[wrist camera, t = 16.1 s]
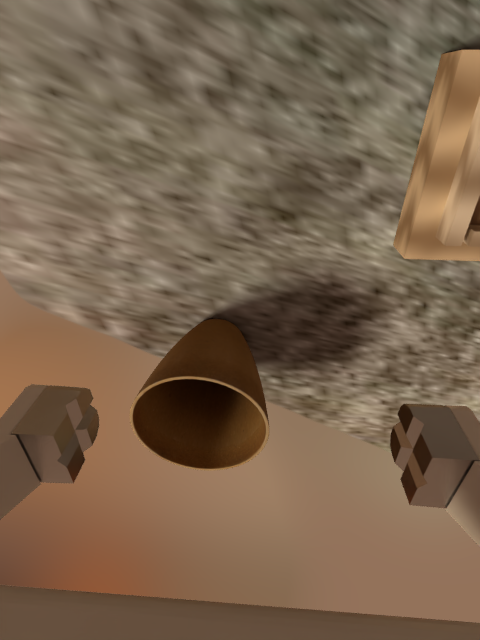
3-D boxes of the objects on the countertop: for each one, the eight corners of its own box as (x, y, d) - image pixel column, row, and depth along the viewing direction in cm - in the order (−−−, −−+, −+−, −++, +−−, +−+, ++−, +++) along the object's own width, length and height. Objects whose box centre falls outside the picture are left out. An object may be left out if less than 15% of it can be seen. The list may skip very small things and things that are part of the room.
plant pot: (177, 280, 46) (141, 359, 33) (284, 314, 48) (291, 401, 34) (156, 363, 54) (120, 453, 40) (248, 389, 56) (243, 484, 42)
